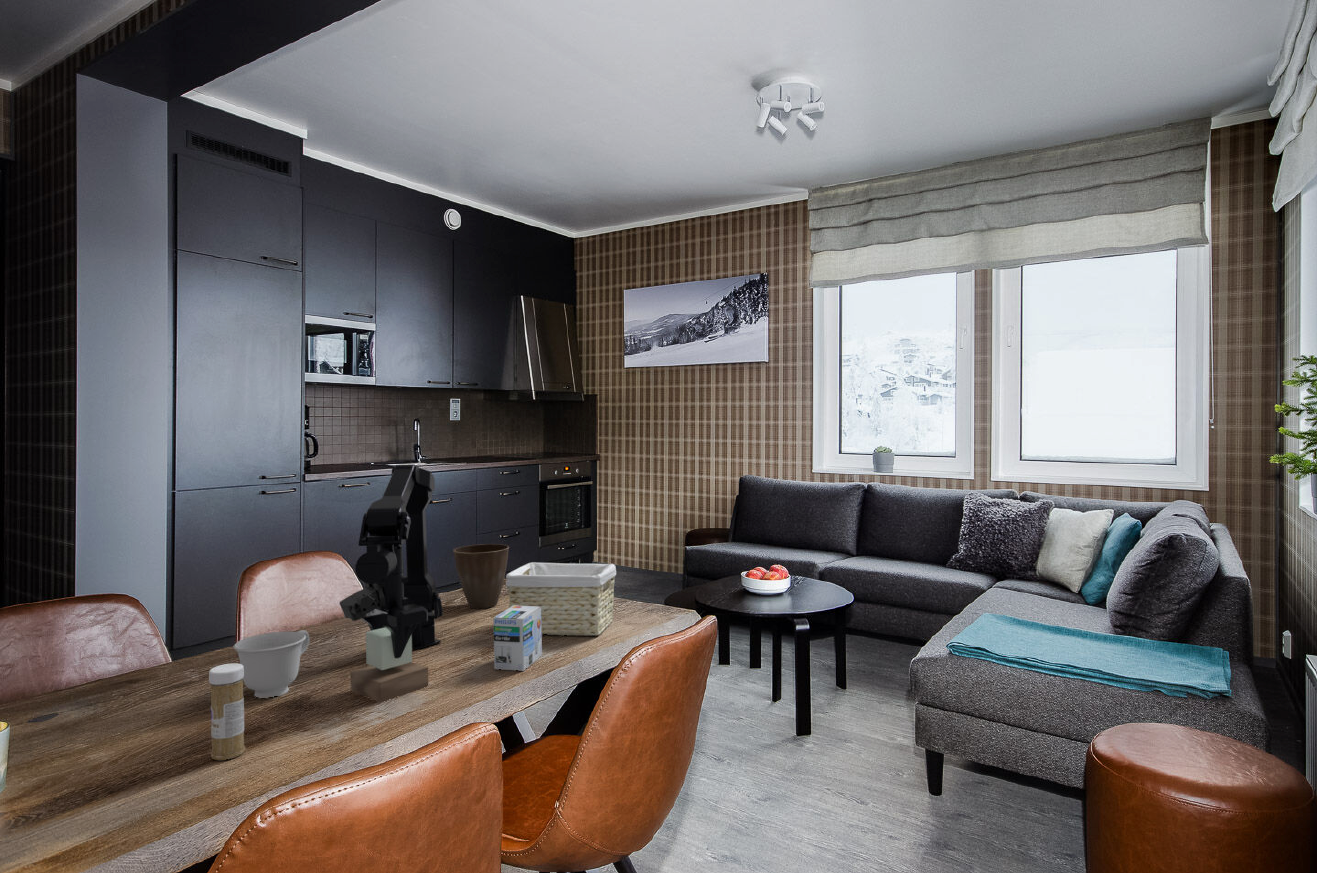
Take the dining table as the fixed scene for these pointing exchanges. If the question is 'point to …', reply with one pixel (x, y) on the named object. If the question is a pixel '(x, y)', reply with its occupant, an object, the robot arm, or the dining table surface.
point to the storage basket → (566, 595)
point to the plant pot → (481, 572)
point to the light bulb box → (517, 637)
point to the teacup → (271, 660)
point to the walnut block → (389, 681)
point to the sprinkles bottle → (227, 711)
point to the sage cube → (385, 650)
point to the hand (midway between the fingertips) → (389, 654)
